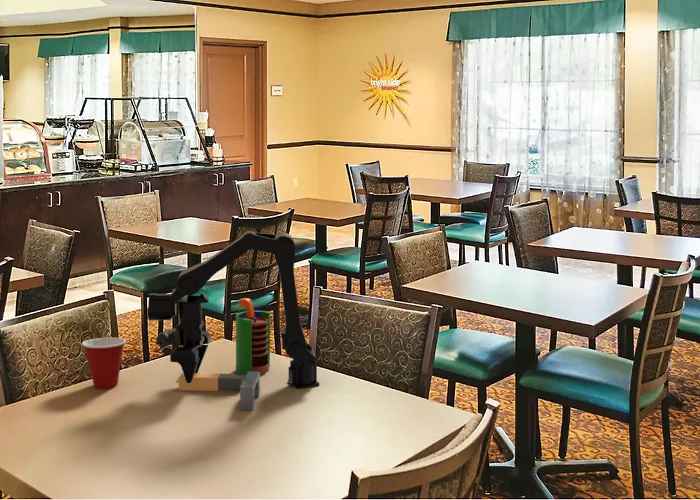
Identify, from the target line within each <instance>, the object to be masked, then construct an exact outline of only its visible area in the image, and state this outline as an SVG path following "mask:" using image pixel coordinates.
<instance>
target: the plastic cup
mask: <svg viewBox="0 0 700 500" xmlns="http://www.w3.org/2000/svg"><path fill="white" fill-rule="evenodd" d="M126 342H127V339H124V338H119V337H97V338H92V339H87V340H84V341H83V342H82V343H81V344H82V346H83V348H84V351H85V355H86V357H87V363H88V368H89V371H90V376H91V379H92V382H93V386H94V388H95V389H99V390H100V389H101V390H105V389H113V388H115V387H116V386H118V383H119V377H120V370H121V364H122V356H123V351H124V346H125V344H126Z"/></svg>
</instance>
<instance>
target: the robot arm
mask: <svg viewBox="0 0 700 500" xmlns="http://www.w3.org/2000/svg"><path fill="white" fill-rule="evenodd" d="M250 250H257V251H261V252H265V253H268V254H273V255H274V258H275V262H276V265H277V268H278V272H279V279H280V287H281V293H282V294H281V295H282V302H283V309H284V318H285V323H284V327H280V328H279V332H280V337H281V341H280V343H281V348H282V349H281V350H283V351H285V353H286V355H287V356H288V357H289V358H290V359H292V360H290V361H289V366H288V379H287V383H289V384H290V385H292V386H293V387H294V388H295V389H304V388H309V387H315V386H320V382H319V381H318V374H317V372H318V371H317V370H318V369H317V368H318V367H317V366H318V364H317V362H318V360H316V359H317V357H316V354H315V350H314V348H313V347H312V346H311V345H310V344H309V343H308V342H307V339H306V336H305V333H304V329H303V327H302V324H301V319H300V313H299V312H300V311H299V303H298V297H297V287H296V280H295V271H294V269H295V259H296V245H295V241H294V238H293V236H292V235H290V234H289V233H286V232H278V233H277V234H273V233H268V232H267V233H266V232H265V233H264V232H255V231H253V230H247V231H245V232H244V233H243V234H242V235H241V236H240V237H238V238H236V239H235V240H234V241H233V242H231V243H230V244H228V245H227V246H225V247H224V248H222V249H221V250H220V251H218V252H216V253H215V254H214V255H212V256H211V257H209V258H208V259H206V260H205V261H202V262H200V263H197V264H194V265H192V266H190V267H188V268H186V269H184V270H182V271H181V272H180V274H179V277H178V278H177V282H176V286H175V287H174V288H173V289H172V291H171V293H155V292H153V293H152V292H151V293H149V294H148V303H147V305H148V307H147V309H146V310H147V319H148V322H149V321H150V322H151V321H152V322H155V321H172V320H173V318H174V317H176V316H177V304H178V324H177V325H176V326H175V327H174V328H171V329H168V330H165V331H163V332H159V333H158V334H157V336H156V337H155V340H156V341H155V345H157V346H158V347H159V348H160V350H162V349H165V348H166V347H169V346H171V345H174V344H175V346H176V347H175V348H174V349H173V350H172V351H171V353H169V358H170V362H171V363H177V364H178V365H179V366H180V367H181V369H182V373H184V376H185V379H186V382H187V383H191V382H192V379H193V376H194V373H199V371H200V368H201V365H202V363H203V359H204V357H205V356H206V352H207V350H208V348H209V344H210V343H211V340H212V339H211V334H210V332H209V331H207V330H203V327H204V325H205V322H204V320H203V314H202V304H208V303H209V300H210V298H209V296H207V295H206V294H205V293H204V291H200V290H201V289H202V288H203V287H204V286H205V285H206V284H207V283H208V281H210V280H211V278H213V276H214V275H215V274H218V273H219V272H220V271H221V270H223V269H224V268H225V267H227V266H228V265H230V264H232V263H233V262H234V261H236V260H237V259H238V258H240V257H241V256H243V255H244V254H246V253H247V252H248V251H250ZM199 291H200V293H199V294H197V293H198V292H199ZM186 296H187V297H186ZM204 342H205V343H206V344H203V343H204Z"/></svg>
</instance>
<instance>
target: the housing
mask: <svg viewBox="0 0 700 500" xmlns="http://www.w3.org/2000/svg"><path fill="white" fill-rule="evenodd" d="M260 395H261V375H260V372H254V371H248V372H247V374H246V376H244V380H243V382H242V384H241V386H240V391H239V396H240V397H239V400H240V401H239V402H240V404H239V405H240V408H239V409H240V411H254V409H255V405H256V403H255V402H256V401H255V399H256V398H259V397H260Z"/></svg>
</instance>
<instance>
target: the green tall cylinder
mask: <svg viewBox="0 0 700 500" xmlns="http://www.w3.org/2000/svg"><path fill="white" fill-rule="evenodd" d="M238 301H239V302H238V307H239V308H245V309H246V311H241V312H238V313H236V314H235V372H236V374H244V377H245V376H246V374H247V372H248V371H254V372H260V374H261V375H265V374H267V373H269V372H270V371H269V369H270V367H269V366H270V364H271V363H270V361H271V358H270V357H271V356H270V355H271V312H269V311H266V310H265V311H264V310H254V304H253V301H252V299H250V298H249V297H248V298H247V297H244V298H243V297H242V298H240V299H239V300H238ZM266 372H267V373H266ZM264 373H265V374H264Z"/></svg>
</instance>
